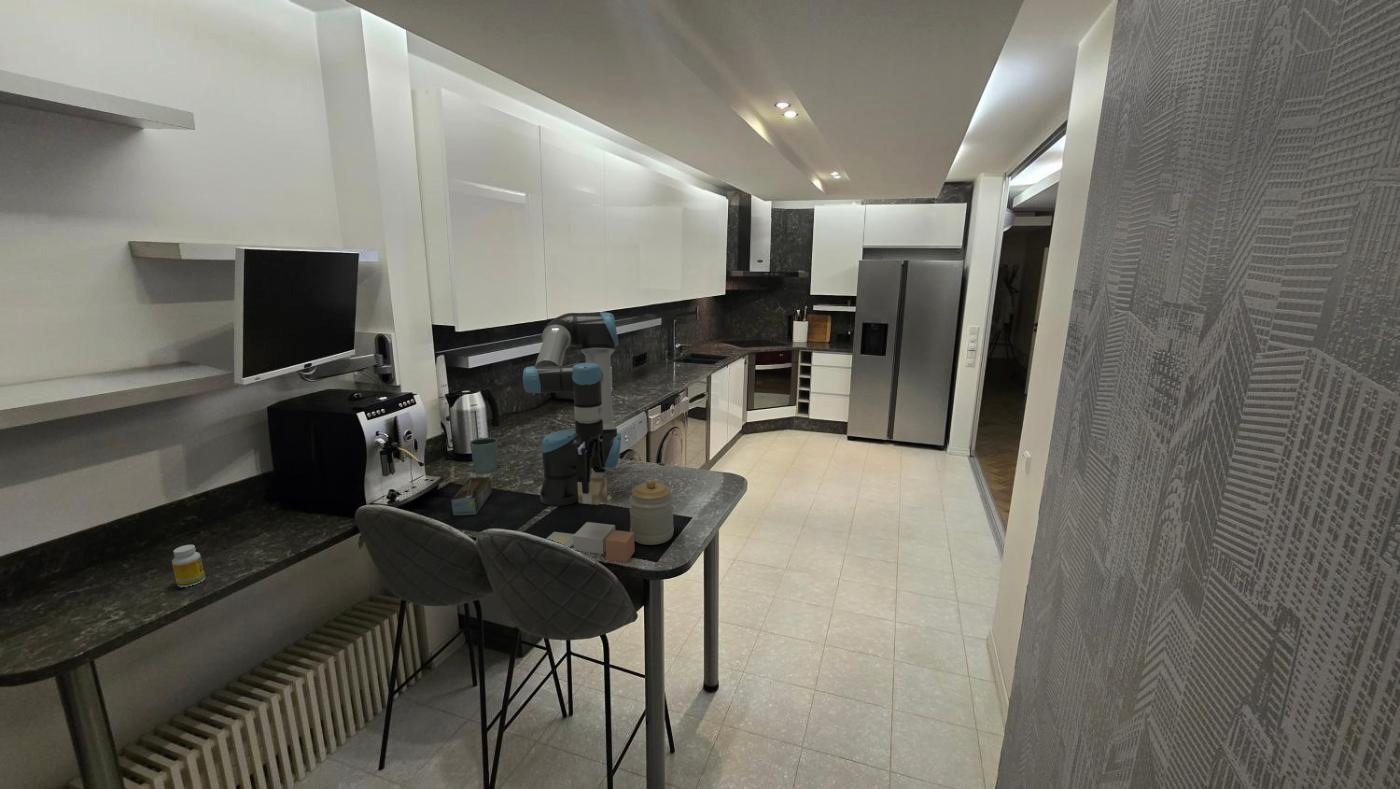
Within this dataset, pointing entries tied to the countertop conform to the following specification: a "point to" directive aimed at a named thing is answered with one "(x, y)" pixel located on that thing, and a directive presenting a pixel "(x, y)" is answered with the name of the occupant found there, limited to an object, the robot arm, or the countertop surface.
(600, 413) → the robot arm
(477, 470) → the teal cup
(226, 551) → the countertop surface
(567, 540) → the card
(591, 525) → the grey base block
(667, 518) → the jar
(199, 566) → the supplement bottle
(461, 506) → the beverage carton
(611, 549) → the terracotta block
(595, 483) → the maple block
